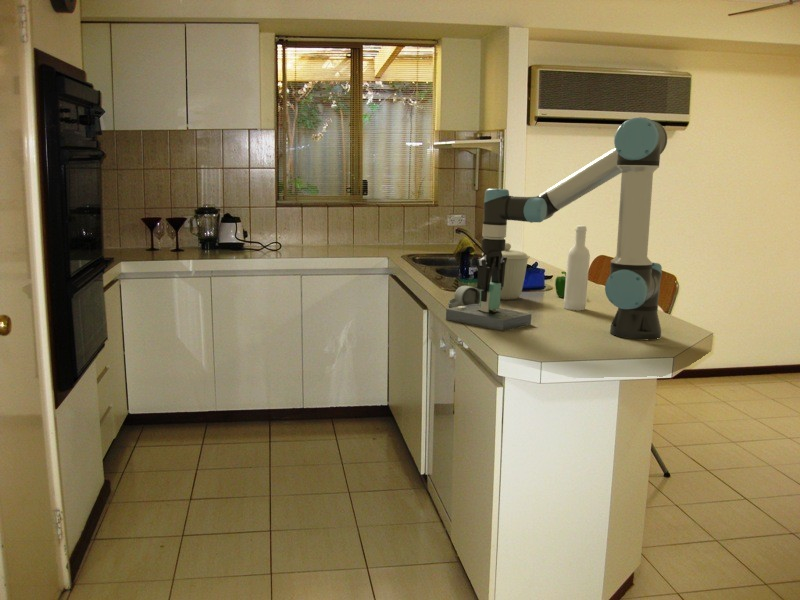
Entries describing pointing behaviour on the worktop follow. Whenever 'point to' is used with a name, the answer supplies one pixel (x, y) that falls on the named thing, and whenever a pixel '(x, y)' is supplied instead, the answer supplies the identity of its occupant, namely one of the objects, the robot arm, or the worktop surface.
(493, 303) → the plug
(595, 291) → the worktop surface
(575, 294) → the bottle
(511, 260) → the canister
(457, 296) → the ceramic mug
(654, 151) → the robot arm
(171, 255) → the worktop surface
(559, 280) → the bell pepper
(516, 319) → the socket
